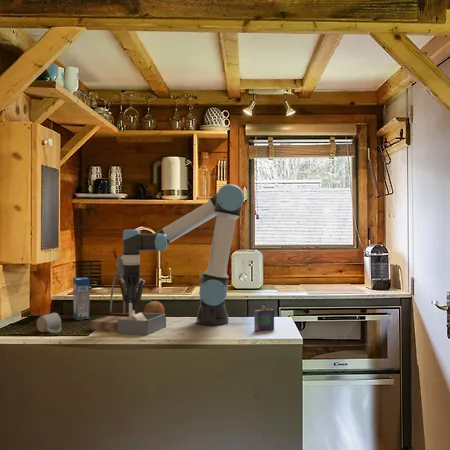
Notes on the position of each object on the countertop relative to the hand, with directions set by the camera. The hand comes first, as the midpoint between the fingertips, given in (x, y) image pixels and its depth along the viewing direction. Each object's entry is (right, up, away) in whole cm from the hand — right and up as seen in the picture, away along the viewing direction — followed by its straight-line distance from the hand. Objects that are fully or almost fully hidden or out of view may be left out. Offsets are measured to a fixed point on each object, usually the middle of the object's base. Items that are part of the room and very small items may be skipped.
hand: (131, 317), depth 228 cm
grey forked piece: (-15, -6, +46) cm, 49 cm away
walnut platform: (-9, -5, +3) cm, 11 cm away
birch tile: (+3, -3, -1) cm, 4 cm away
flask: (+58, -5, -4) cm, 59 cm away
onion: (+8, -6, +17) cm, 20 cm away
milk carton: (-30, -6, +28) cm, 41 cm away
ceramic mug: (-35, -6, -3) cm, 35 cm away
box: (+5, -5, -2) cm, 7 cm away
